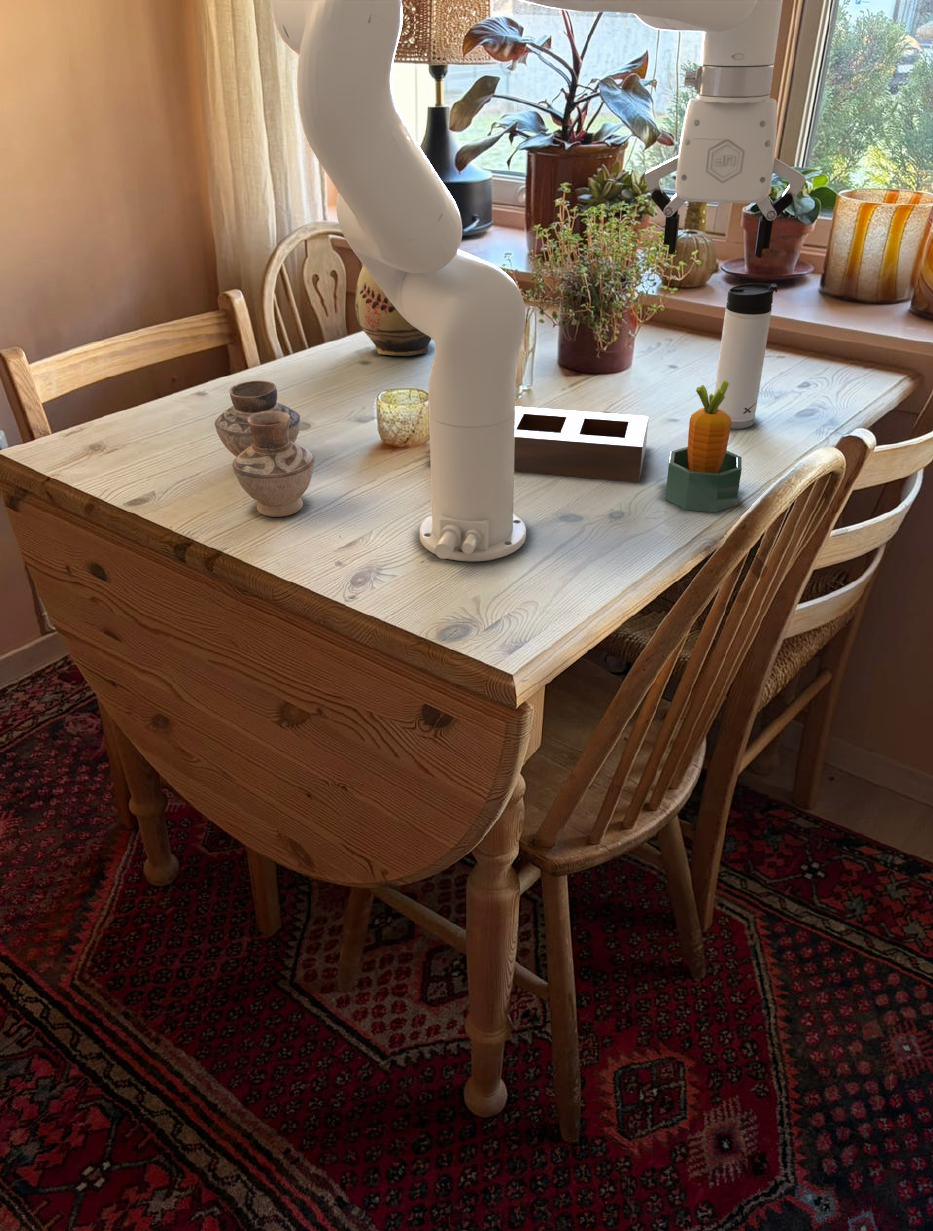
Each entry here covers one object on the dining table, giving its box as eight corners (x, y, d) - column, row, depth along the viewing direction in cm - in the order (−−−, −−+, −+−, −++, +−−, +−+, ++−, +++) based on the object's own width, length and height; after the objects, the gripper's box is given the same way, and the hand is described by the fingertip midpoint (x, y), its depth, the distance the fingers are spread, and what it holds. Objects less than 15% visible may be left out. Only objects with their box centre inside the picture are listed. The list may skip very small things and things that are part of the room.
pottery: (241, 532, 119) (227, 438, 112) (216, 454, 139) (203, 370, 132) (333, 517, 122) (325, 425, 115) (296, 443, 142) (287, 361, 135)
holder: (736, 514, 122) (741, 477, 119) (663, 508, 123) (667, 471, 121) (736, 484, 129) (741, 449, 126) (667, 479, 130) (671, 443, 128)
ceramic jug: (408, 331, 187) (402, 159, 171) (461, 350, 177) (458, 169, 161) (333, 350, 178) (319, 170, 162) (384, 371, 168) (374, 181, 152)
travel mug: (757, 431, 144) (779, 291, 133) (711, 427, 145) (729, 289, 135) (755, 415, 149) (776, 280, 139) (710, 412, 151) (728, 278, 140)
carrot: (679, 502, 124) (693, 387, 116) (682, 486, 129) (695, 373, 120) (720, 506, 123) (736, 390, 115) (721, 489, 128) (737, 376, 119)
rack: (639, 482, 130) (642, 446, 127) (432, 464, 135) (431, 430, 132) (645, 450, 139) (648, 416, 136) (451, 434, 144) (451, 401, 141)
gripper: (648, 87, 103) (635, 258, 112) (822, 88, 99) (794, 264, 108) (654, 81, 109) (642, 243, 118) (819, 82, 105) (792, 249, 114)
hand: (714, 253), depth 113 cm, fingers open, 9 cm apart
